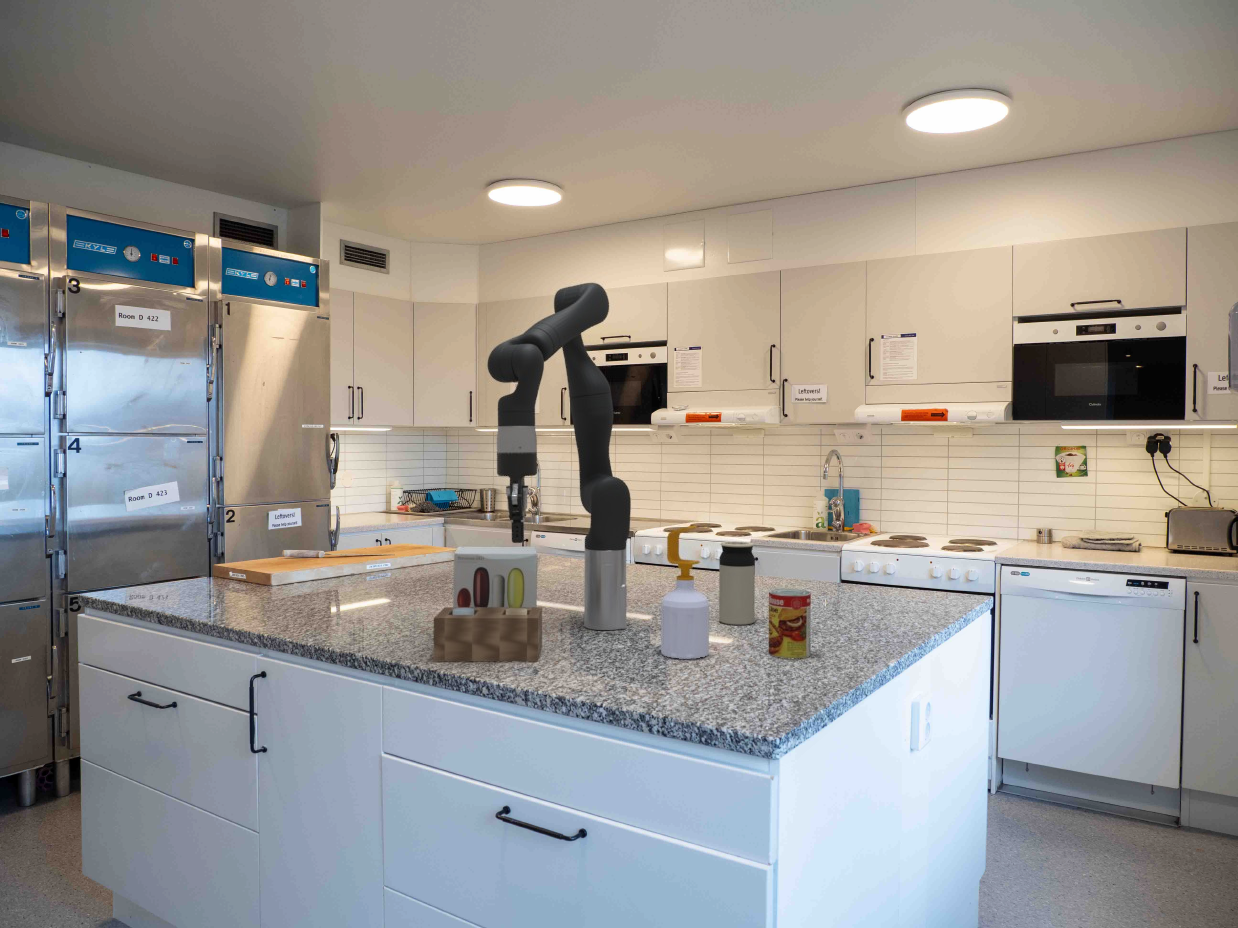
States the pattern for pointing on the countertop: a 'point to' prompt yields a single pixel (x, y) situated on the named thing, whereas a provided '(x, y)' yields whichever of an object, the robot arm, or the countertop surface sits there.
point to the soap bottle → (684, 610)
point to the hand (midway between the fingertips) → (517, 542)
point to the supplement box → (495, 577)
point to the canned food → (789, 623)
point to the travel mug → (736, 583)
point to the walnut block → (488, 635)
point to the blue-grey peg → (463, 611)
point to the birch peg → (516, 611)
